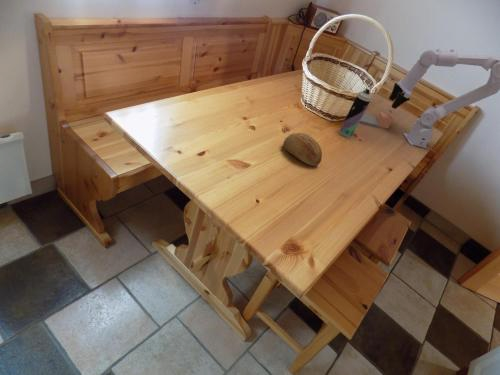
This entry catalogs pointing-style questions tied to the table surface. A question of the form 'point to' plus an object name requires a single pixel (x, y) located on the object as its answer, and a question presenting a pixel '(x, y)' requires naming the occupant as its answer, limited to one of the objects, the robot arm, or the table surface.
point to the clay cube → (384, 120)
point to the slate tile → (369, 120)
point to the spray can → (355, 113)
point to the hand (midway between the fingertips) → (392, 103)
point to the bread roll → (303, 148)
